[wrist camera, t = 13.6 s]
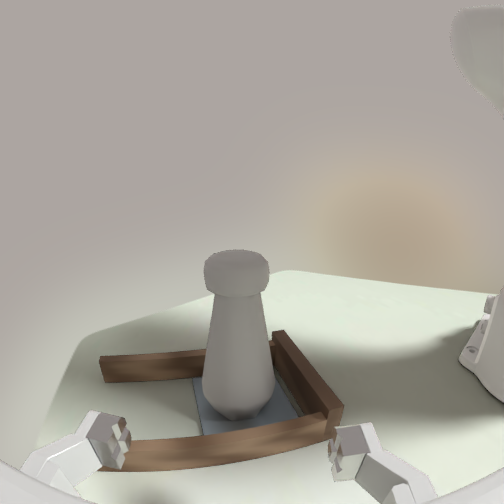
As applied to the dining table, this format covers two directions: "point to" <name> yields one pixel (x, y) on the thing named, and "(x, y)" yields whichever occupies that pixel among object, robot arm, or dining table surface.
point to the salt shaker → (237, 335)
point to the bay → (220, 427)
